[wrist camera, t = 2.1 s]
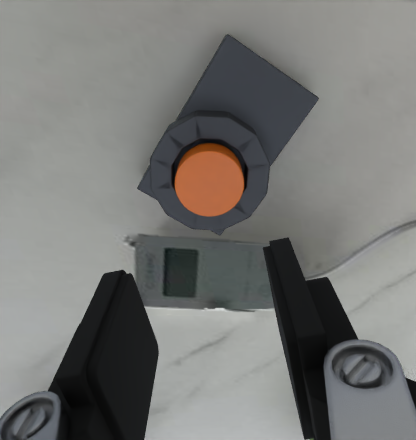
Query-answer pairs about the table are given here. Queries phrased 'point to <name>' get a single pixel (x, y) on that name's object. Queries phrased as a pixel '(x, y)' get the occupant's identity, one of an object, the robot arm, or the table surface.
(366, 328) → the table surface
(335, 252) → the table surface
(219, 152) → the power button
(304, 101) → the button switch box
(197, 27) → the table surface
